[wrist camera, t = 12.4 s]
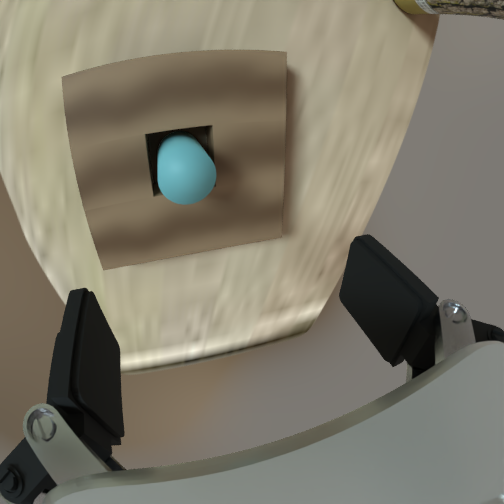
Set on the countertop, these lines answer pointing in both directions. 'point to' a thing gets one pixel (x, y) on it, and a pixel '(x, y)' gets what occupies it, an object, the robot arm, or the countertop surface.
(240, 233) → the socket block
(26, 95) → the countertop surface
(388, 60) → the countertop surface
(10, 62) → the countertop surface
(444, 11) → the bark patterned cylinder
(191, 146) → the dowel peg
